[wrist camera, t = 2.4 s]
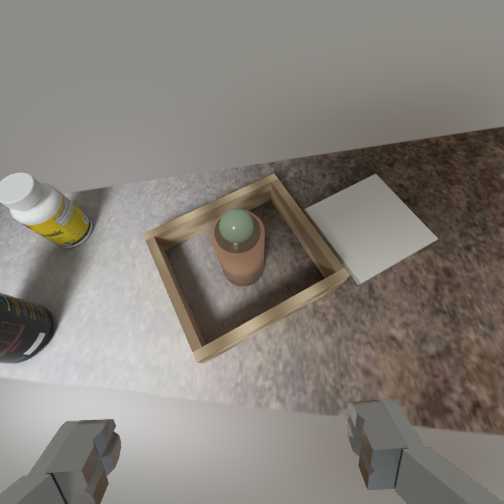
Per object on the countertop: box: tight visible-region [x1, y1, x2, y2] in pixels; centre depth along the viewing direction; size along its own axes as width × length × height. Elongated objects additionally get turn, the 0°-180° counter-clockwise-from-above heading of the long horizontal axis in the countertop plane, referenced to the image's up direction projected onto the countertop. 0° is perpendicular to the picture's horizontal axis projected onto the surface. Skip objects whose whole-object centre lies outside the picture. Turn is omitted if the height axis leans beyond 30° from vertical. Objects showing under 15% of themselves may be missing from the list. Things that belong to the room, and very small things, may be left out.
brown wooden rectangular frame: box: [143, 174, 350, 363], centre depth 32 cm, size 18×16×4 cm
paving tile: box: [304, 174, 438, 285], centre depth 35 cm, size 12×12×1 cm
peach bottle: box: [211, 209, 265, 286], centre depth 28 cm, size 5×5×12 cm
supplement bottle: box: [0, 173, 92, 248], centre depth 32 cm, size 5×5×10 cm
